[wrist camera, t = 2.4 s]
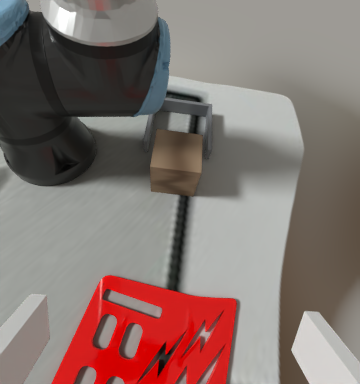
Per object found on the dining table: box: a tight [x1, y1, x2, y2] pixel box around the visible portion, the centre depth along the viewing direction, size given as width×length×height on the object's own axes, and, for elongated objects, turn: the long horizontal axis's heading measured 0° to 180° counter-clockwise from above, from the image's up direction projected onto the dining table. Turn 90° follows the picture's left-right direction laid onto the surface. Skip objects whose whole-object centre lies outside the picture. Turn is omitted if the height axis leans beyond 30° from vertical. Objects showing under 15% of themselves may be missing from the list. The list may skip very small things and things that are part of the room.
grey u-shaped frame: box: [143, 98, 212, 159], centre depth 45 cm, size 14×14×3 cm
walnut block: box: [150, 129, 203, 196], centre depth 37 cm, size 8×8×8 cm
